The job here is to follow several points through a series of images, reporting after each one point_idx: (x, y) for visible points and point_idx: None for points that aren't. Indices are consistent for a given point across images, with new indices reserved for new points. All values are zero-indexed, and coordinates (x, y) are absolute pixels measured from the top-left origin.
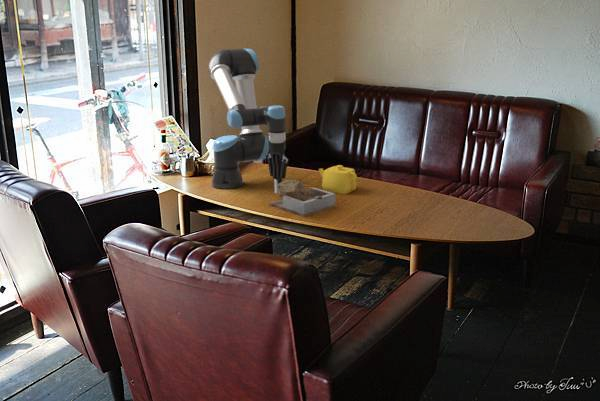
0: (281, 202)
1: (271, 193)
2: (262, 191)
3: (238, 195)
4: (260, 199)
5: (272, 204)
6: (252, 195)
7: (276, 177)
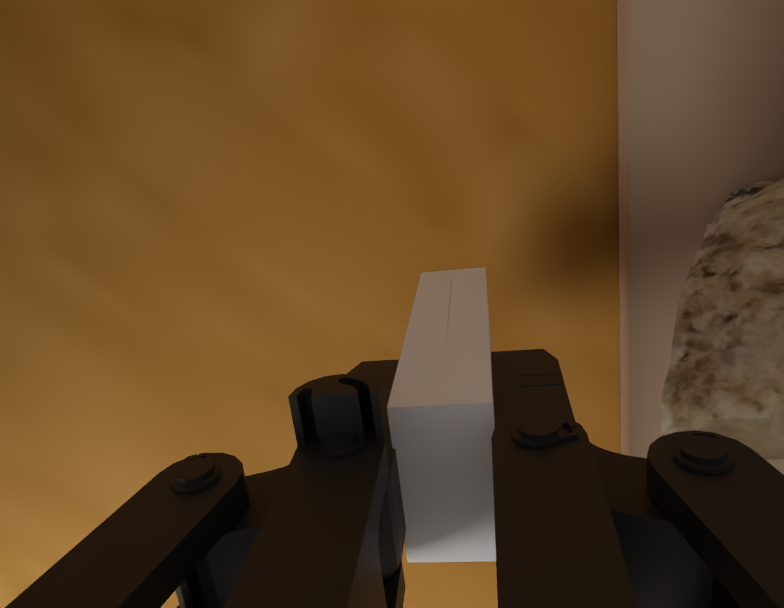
0: None
1: (165, 202)
2: (3, 249)
3: (29, 574)
4: None
5: None
6: (113, 461)
7: (398, 514)
